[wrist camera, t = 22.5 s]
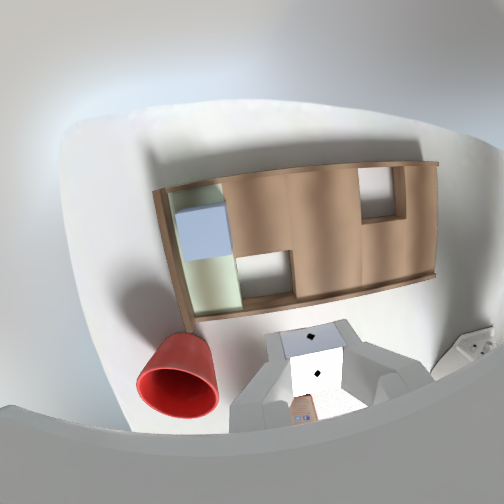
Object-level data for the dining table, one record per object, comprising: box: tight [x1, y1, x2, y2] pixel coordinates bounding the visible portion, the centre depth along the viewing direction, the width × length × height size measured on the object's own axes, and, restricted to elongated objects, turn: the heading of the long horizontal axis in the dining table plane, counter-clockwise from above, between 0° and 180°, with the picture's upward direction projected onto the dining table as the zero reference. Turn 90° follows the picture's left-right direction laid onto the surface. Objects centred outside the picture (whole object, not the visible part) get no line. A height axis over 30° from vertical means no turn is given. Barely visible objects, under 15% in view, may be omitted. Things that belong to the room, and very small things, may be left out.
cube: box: [175, 201, 233, 261], centre depth 29 cm, size 5×5×4 cm
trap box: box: [152, 161, 439, 333], centre depth 32 cm, size 36×17×6 cm, turn 98°
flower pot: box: [136, 333, 219, 419], centre depth 35 cm, size 11×11×10 cm
